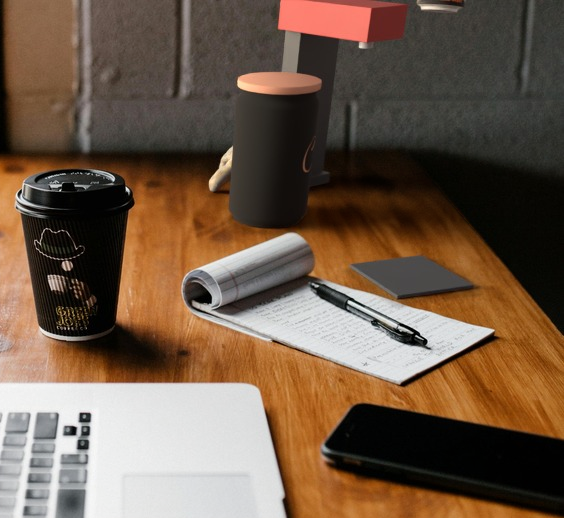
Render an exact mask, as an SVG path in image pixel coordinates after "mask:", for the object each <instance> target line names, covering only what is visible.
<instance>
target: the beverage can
mask: <svg viewBox="0 0 564 518" xmlns="http://www.w3.org/2000/svg"><path fill="white" fill-rule="evenodd" d="M465 3H466V0H416V5H417V6H419V7H420V10H421V11H423V12H428V13H437V14H457V13H458V11H459V10H461V9H463V8H464V7H465V5H466V4H465Z"/></svg>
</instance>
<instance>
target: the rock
mask: <svg viewBox="0 0 564 518" xmlns="http://www.w3.org/2000/svg"><path fill="white" fill-rule="evenodd" d="M232 152H233V145H232V146H231V147H230V148H229V149H228V150H227V151H226V153H224V154H223V156H222V157H221V159H220V163H219V166H218V169H217V170H216V171H215V173H214V174H213V175H212V176H211V177H210V179H209V181H208V189H209V191H210V192H212V193H216V192H218V191H219V190H220V189H221V188H222V187H223V186H225V185H226V183H228V182H229V181H230V180H231V166H232Z"/></svg>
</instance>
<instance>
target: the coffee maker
mask: <svg viewBox="0 0 564 518" xmlns="http://www.w3.org/2000/svg"><path fill="white" fill-rule="evenodd" d="M408 9H409V4H408V3H407V4H406V3H398V2H388V1H380V0H280V5H279V13H278V14H279V15H278V25H277V29H278V30H281V31H285V33H284V45H283V54H282V55H283V56H282V65H281V72H288V73H299V74H306V75H311V76H314V77H317V78H319V79H321V81H322V84H321V89H320V90H319V91H318V92H317V95H316V96H317V97H318V99H319V112H318V120H317V128H316V137H315V145H314V153H313V162H312V170H311V179H310V187H309V188H311V187H316V186H320V185H325V184H329V183H330V178H331V177H330V176H331V173H330V172H328V171H325V170H324V166H325V157H326V149H327V141H328V132H329V124H330V117H331V111H332V110H331V109H332V101H333V92H334V86H335V78H336V77H335V76H336V68H337V61H338V54H339V53H338V52H339V44H340V40H344V41H345V40H346V41H352V42H358V48H359V49H363V50H364V49H365V50H366V49H367V50H370V49H373V48H374V43H376V42H383V41H385V42H386V41H394V40H400V39H403V38H404V34H405V27H406V21H407V15H408Z"/></svg>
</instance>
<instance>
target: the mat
mask: <svg viewBox="0 0 564 518" xmlns="http://www.w3.org/2000/svg"><path fill="white" fill-rule="evenodd" d="M348 267H349V268H350V269H352V270H353V271H354V272H355V273H357V274H359V275H361V276H362V277H364V278H365V279H367V280H368V281H369V282H370V283H372V284H374V285H376V286H377V287H378V288H380V289H381V290H383V291H385V292H386V293H388V294H389V295H391V296H392V297H394V298H395V299H396V300H400V299H406V298H412V297H418V296H419V297H420V296H425V295H434V294H441V293H446V292H447V293H448V292H454V291H461V290H462V291H463V290H469V289H474V286H475V284H473V283H472V282H470V281H468V280H467V279H465V278H463V277H461V276H459V275H458V274H456V273H454V272H452V271H451V270H449V269H447V268H445V267H443V266H442V265H440V264H438V263H436V262H435V261H433V260H431V259H429V258H427V257H426V256H424V255H422V254H419V255H411V256H403V257H394V258H388V259H381V260H380V259H379V260H371V261H363V262H356V263H350V264H349V266H348Z"/></svg>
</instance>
